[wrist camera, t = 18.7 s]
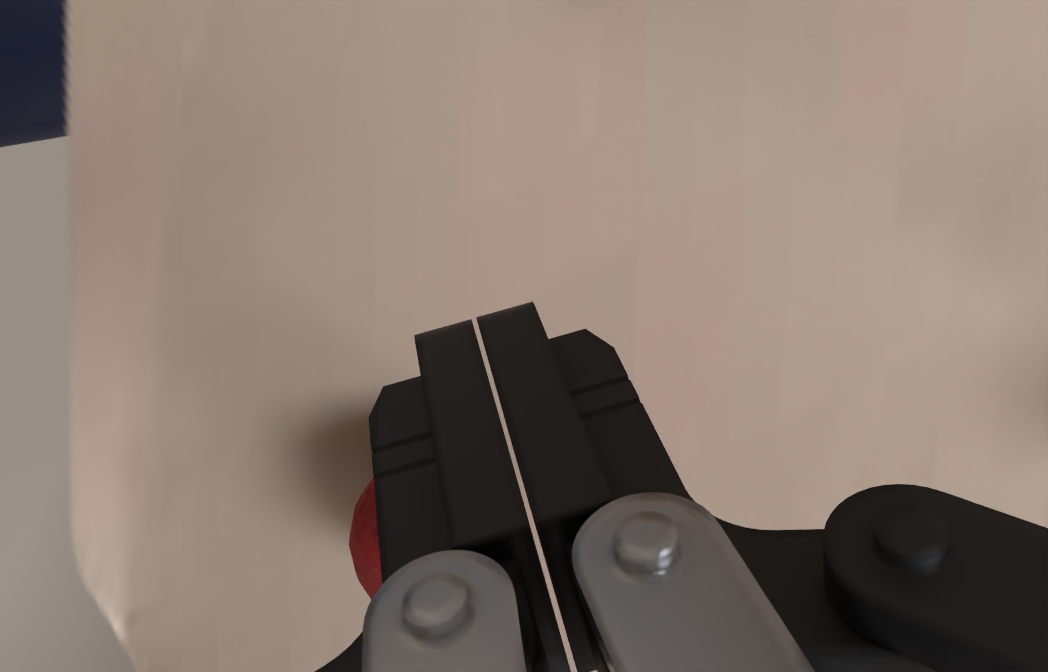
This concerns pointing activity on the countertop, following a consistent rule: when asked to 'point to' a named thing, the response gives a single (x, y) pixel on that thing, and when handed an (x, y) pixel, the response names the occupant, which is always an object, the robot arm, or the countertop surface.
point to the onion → (366, 542)
